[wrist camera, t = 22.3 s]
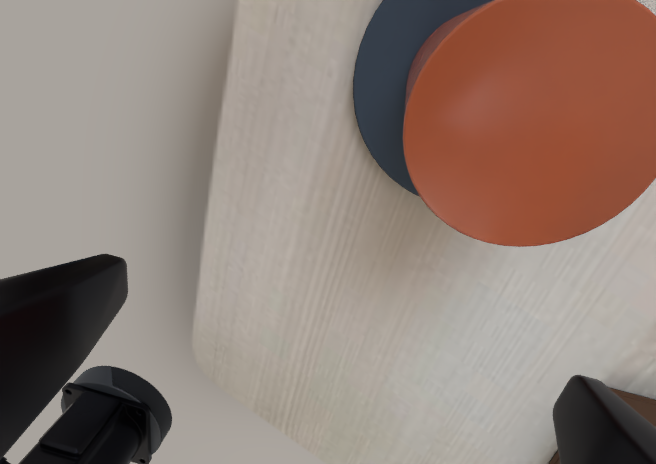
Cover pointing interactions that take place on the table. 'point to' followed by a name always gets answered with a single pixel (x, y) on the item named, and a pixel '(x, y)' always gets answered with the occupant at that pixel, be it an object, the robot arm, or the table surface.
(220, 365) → the table surface
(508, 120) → the terracotta tin
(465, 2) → the coaster
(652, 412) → the walnut tray
